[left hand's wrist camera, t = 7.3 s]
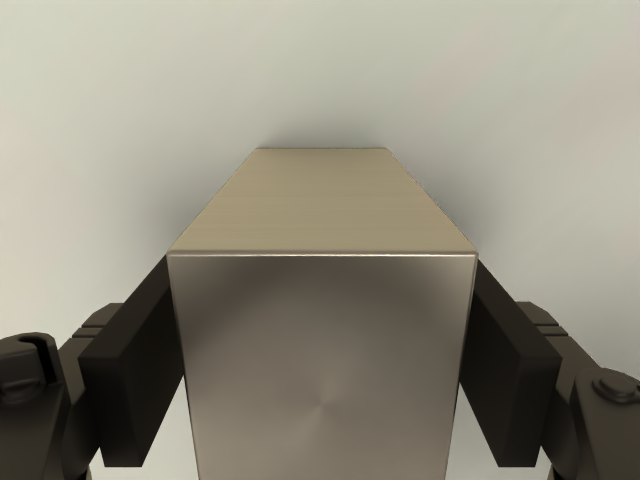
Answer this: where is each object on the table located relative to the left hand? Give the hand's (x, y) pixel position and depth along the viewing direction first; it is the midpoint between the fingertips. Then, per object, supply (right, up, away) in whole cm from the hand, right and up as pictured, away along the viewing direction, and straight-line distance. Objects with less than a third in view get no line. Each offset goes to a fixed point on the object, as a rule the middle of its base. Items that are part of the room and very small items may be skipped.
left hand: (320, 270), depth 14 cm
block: (0, +2, +5) cm, 5 cm away
